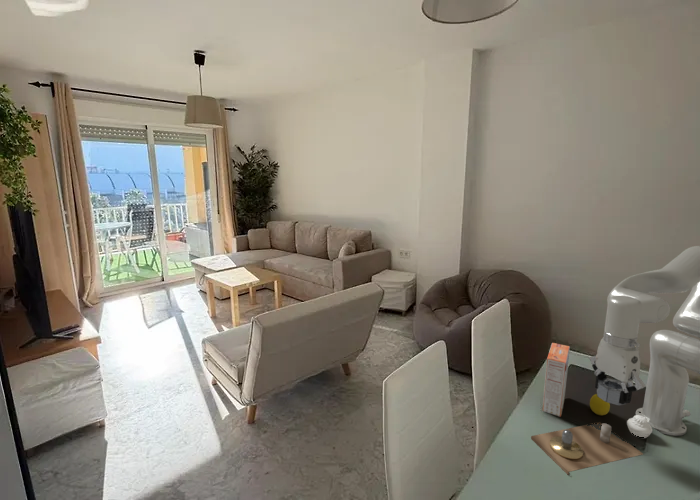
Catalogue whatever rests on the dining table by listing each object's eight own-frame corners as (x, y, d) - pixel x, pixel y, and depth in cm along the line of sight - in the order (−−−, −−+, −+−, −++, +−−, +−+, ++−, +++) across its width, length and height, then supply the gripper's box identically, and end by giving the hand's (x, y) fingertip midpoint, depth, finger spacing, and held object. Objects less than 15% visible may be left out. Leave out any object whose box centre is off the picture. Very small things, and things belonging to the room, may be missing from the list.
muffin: (656, 443, 106) (659, 423, 105) (635, 443, 107) (638, 422, 105) (640, 429, 112) (643, 410, 111) (620, 428, 113) (623, 409, 111)
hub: (566, 436, 108) (568, 419, 107) (590, 457, 100) (592, 438, 99) (543, 441, 107) (544, 423, 105) (565, 462, 99) (567, 443, 97)
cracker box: (546, 393, 132) (551, 341, 128) (564, 398, 129) (571, 345, 124) (540, 413, 121) (546, 357, 117) (560, 419, 117) (567, 362, 113)
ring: (610, 388, 108) (611, 376, 107) (632, 402, 101) (634, 390, 100) (591, 392, 106) (592, 380, 106) (613, 406, 100) (614, 393, 99)
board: (599, 424, 115) (601, 408, 114) (643, 457, 101) (646, 438, 100) (531, 438, 109) (532, 421, 108) (567, 474, 96) (570, 455, 94)
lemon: (611, 421, 116) (614, 399, 115) (592, 419, 117) (595, 398, 116) (603, 410, 122) (606, 390, 120) (585, 409, 123) (588, 388, 121)
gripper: (662, 351, 93) (652, 411, 96) (602, 325, 109) (595, 377, 113) (640, 355, 91) (630, 416, 95) (582, 328, 108) (576, 380, 111)
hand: (611, 394), depth 104 cm, fingers closed on ring, 7 cm apart
